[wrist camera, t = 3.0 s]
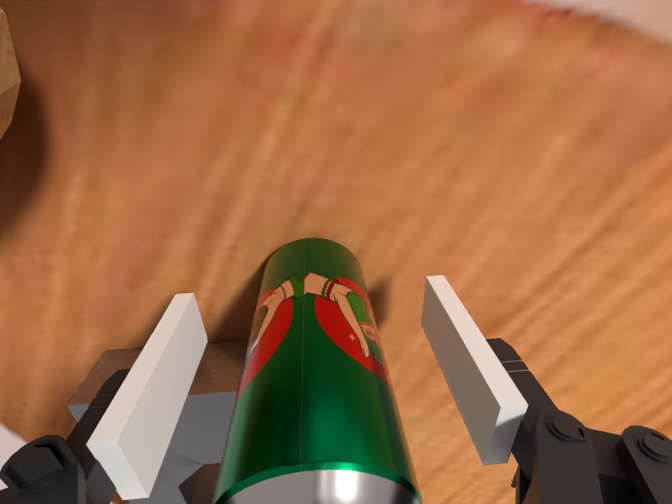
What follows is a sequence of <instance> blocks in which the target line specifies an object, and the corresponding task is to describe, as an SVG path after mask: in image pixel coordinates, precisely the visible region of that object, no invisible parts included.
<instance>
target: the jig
mask: <svg viewBox="0 0 672 504" xmlns="http://www.w3.org/2000/svg"><path fill="white" fill-rule="evenodd" d="M247 345H248V340H241V341H228V342H215V343H207V344H206V347H205V350H204V352H203V355H202V358H201V360H200V363H199V366H198V368H197V371H196V374H195V376H194V379H193V382H192V384H191V387H190V390H189V392H188V395H187V398H186V400H185V403H184V406H183V408H182V411H181V414H180V416H179V419H178V421H177V424H176V427H175V429H174V432H173V435H172V437H171V440H170V443H169V445H168V448H167V451H166V453H165V456H164V459H163V461H162V464H161V467H160V469H159V472H158V475H157V477H156V480H155V483H154V485H153V488H152V491H151V493H150V496H149V498H139V499H128V502H129V503H130V504H212V500H213V496H214V491H215V487H216V482H217V478H218V473H219V469H220V465H221V460H222V456H223V451H224V447H225V442H226V438H227V434H228V429H229V425H230V420H231V416H232V411H233V407H234V403H235V398H236V394H237V389H238V385H239V380H240V376H241V371H242V367H243V363H244V358H245V354H246V349H247ZM142 350H143V348H137V349H125V350H112V351H105V353H104V354H103V356H102V357H101V358H100V360H99V361H98V362H97V364H96V365H95V367H94V368H93V369H92V371H91V372H90V373H89V375H88V376H87V378H86V379H85V380H84V382H83V383H82V384H81V386H80V387H79V389H78V390H77V391H76V393H75V394H74V395H73V397H72V398H71V400H70V401H69V402H68V404H67V405H66V406H67V407H68V409H69V410H70V412H71V413H72V415H73V417H74V418H75V420H76V421H77V423H78V422H79V420H80V419H81V417H82V416H83V414H84V413H85V411H86V410H88V406H89V405H90V403H91V402H92V400H93V399H94V398H96V394H97V393H98V391H99V390H100V388H101V387H102V385H103V384H104V382H105V381H106V380H107V379H108V378H110V377H111V376H112V375H113V374H114V373H115V372H116V371H117V370H119V369H131V368H132V367H133V365H134V363H135V362H136V360H137V358H138V357H139V355H140V353H141V352H142Z"/></svg>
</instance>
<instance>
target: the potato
mask: <svg viewBox="0 0 672 504" xmlns="http://www.w3.org/2000/svg"><path fill="white" fill-rule="evenodd" d="M20 84H21V77H20V73H19V69H18V64H17V60H16V56H15V52H14V47H13V43H12V39H11V34H10V30H9V26H8V22H7V17H6V13H5V12H4V11H3V10H2V8H1V7H0V140H1V138H2V137H3V135H4V133H5V132H6V130H7V128H8V127H9V125H10V124H11V122H12V118H13V114H14V110H15V105H16V101H17V97H18V93H19V88H20Z"/></svg>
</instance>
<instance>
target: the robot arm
mask: <svg viewBox="0 0 672 504" xmlns="http://www.w3.org/2000/svg"><path fill="white" fill-rule="evenodd" d="M421 325H422V327H423V329H424V332H425V334H426V336H427V338H428V341H429V343H430V345H431V347H432V350H433V352H434V354H435V356H436V359H437V361H438V363H439V366H440V368H441V370H442V372H443V375H444V377H445V379H446V381H447V384H448V386H449V388H450V390H451V393H452V395H453V397H454V400H455V402H456V404H457V406H458V409H459V411H460V413H461V415H462V418H463V420H464V422H465V424H466V427H467V429H468V431H469V434H470V436H471V438H472V440H473V443H474V445H475V447H476V449H477V452H478V454H479V456H480V458H481V461H482V463H483V465H491V464H502V463H508V460H509V457H510V454H511V452H512V454H513V455H514V457H515V459H516V461H517V463H518V468H517V470H516V473H515V476H514V478H513V481H512V484H511V487H513V488H515V487H516V504H672V441H671V440H670V439H669V438H667V437H666V436H665V435H663V434H661V433H659V432H657V431H655V430H653V429H650V428H647V427H643V426H630V427H628V428H626V429H625V430H624V431H623V433H622V435H617V434H612V433H607V432H602V431H598V430H593V429H589V428H586V427H585V426H584V425H583V424H582V423H581V422H580V421H579V420H577V419H576V418H574V417H573V416H572V415H570V414H567V413H565V412H563V411H560V410H559V409H558V408H557V407H556V406H555V404H554V403H553V402H552V400H551V399H550V398H549V396H548V395H547V394H546V392H545V391H544V389H543V388H542V387H541V385H540V384H539V383H538V381H537V380H536V379H535V377H534V376H533V374H532V373H531V372H530V371H529V370H528V368H527V366H526V365H525V364H524V362H522V361H521V358H520V357H519V355H518V354H517V353H516V351H515V350H514V349H513V347H511V346H510V345H509V344H507V343H506V342H505V341H503V340H502V339H501V338H496V339H485V338H484V337H483V335H482V334H481V332H480V331H479V329H478V327H477V326H476V324H475V323H474V321H473V320H472V318H471V317H470V315H469V314H468V312H467V311H466V309H465V308H464V306H463V305H462V303H461V302H460V300H459V298H458V297H457V295H456V294H455V292H454V291H453V289H452V288H451V286H450V285H449V283H448V282H447V280H446V279H445V277H444V276H443V275H438V276H426V284H425V293H424V303H423V312H422V321H421ZM207 342H208V339H207V336H206V332H205V329H204V325H203V322H202V319H201V315H200V312H199V309H198V305H197V302H196V298H195V295H194V293H184V294H176V295H175V296H174V298H173V300H172V301H171V303H170V305H169V306H168V308H167V310H166V311H165V313H164V315H163V317H162V318H161V320H160V322H159V323H158V325H157V327H156V328H155V330H154V332H153V333H152V335H151V337H150V338H149V340H148V342H147V343H146V345H145V347H144V348H143V350H142V352H141V353H140V355H139V357H138V358H137V360H136V362H135V363H134V365H133V367H132V368H131V369H119V370H117V371H116V372H115V373H114V374H113V375H112V376H111V377H110V378H108V379H107V380H106V381H105V382H104V384H103V385H102V387H101V388H100V390H99V391H98V393H97V394H96V398H94V399H93V400H92V402H91V403H90V405H89V406H88V410H86V411H85V413H84V414H83V416H82V417H81V419H80V420H79V422H78V423H77V425H76V426H75V428H74V429H73V431H72V432H71V434H70V435H69V437H68V438H67V440H66V441H65V440H64V439H63V438H62V437H60V436H58V435H46V436H43V437H40V438H37V439H35V440H33V441H31V442H30V443H28V444H26V445H24V446H23V447H22V448H20V449H19V450H18V451H17V452H15V453H14V454H13V455H12V456H11V457H10V458H9V460H8V461H7V462H6V463H5V464H4V465H3V467H2V469H1V471H0V479H1V480H2V481H3V482H4V483H5V484H6V485H7V486H8V488H6V489H3V490H0V504H110V502H111V499H112V497H113V495H114V493H115V491H117V492H118V494H119V495H120V497H121V498H122V500H128V499H139V498H149V496H150V493H151V491H152V488H153V485H154V483H155V480H156V477H157V475H158V472H159V469H160V467H161V464H162V461H163V459H164V456H165V453H166V451H167V448H168V445H169V443H170V440H171V437H172V435H173V432H174V429H175V427H176V424H177V421H178V419H179V416H180V414H181V411H182V408H183V406H184V403H185V400H186V398H187V395H188V392H189V390H190V387H191V384H192V382H193V379H194V376H195V374H196V371H197V368H198V366H199V363H200V360H201V358H202V355H203V352H204V350H205V347H206V344H207Z"/></svg>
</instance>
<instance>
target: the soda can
mask: <svg viewBox="0 0 672 504" xmlns="http://www.w3.org/2000/svg"><path fill="white" fill-rule="evenodd" d="M212 504H423V502H422V497H421V493H420V489H419V486H418V482H417V478H416V474H415V470H414V467H413V463H412V459H411V455H410V451H409V447H408V444H407V440H406V436H405V432H404V428H403V425H402V421H401V417H400V413H399V409H398V406H397V402H396V398H395V394H394V390H393V387H392V383H391V379H390V375H389V371H388V368H387V364H386V360H385V356H384V352H383V349H382V345H381V341H380V337H379V333H378V330H377V326H376V322H375V318H374V314H373V311H372V307H371V303H370V299H369V295H368V292H367V288H366V284H365V280H364V276H363V273H362V269H361V266H360V264H359V262H358V260H357V259H356V257H355V256H354V255H353V254H352V253H351V252H350V251H349V250H348V249H347V248H345V247H344V246H342V245H340V244H339V243H336V242H334V241H331V240H327V239H322V238H305V239H300V240H296V241H294V242H291V243H289V244H287V245H285V246H283V247H282V248H280V249H279V250H278V251H276V252H275V254H274V255H273V256H272V257H271V258H270V260H269V261H268V263H267V265H266V267H265V270H264V274H263V278H262V283H261V287H260V292H259V296H258V301H257V305H256V309H255V314H254V318H253V323H252V327H251V332H250V336H249V340H248V345H247V349H246V354H245V358H244V363H243V367H242V371H241V376H240V380H239V385H238V389H237V394H236V398H235V403H234V407H233V411H232V416H231V420H230V425H229V429H228V434H227V438H226V442H225V447H224V451H223V456H222V460H221V465H220V469H219V473H218V478H217V482H216V487H215V491H214V496H213V500H212Z"/></svg>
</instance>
